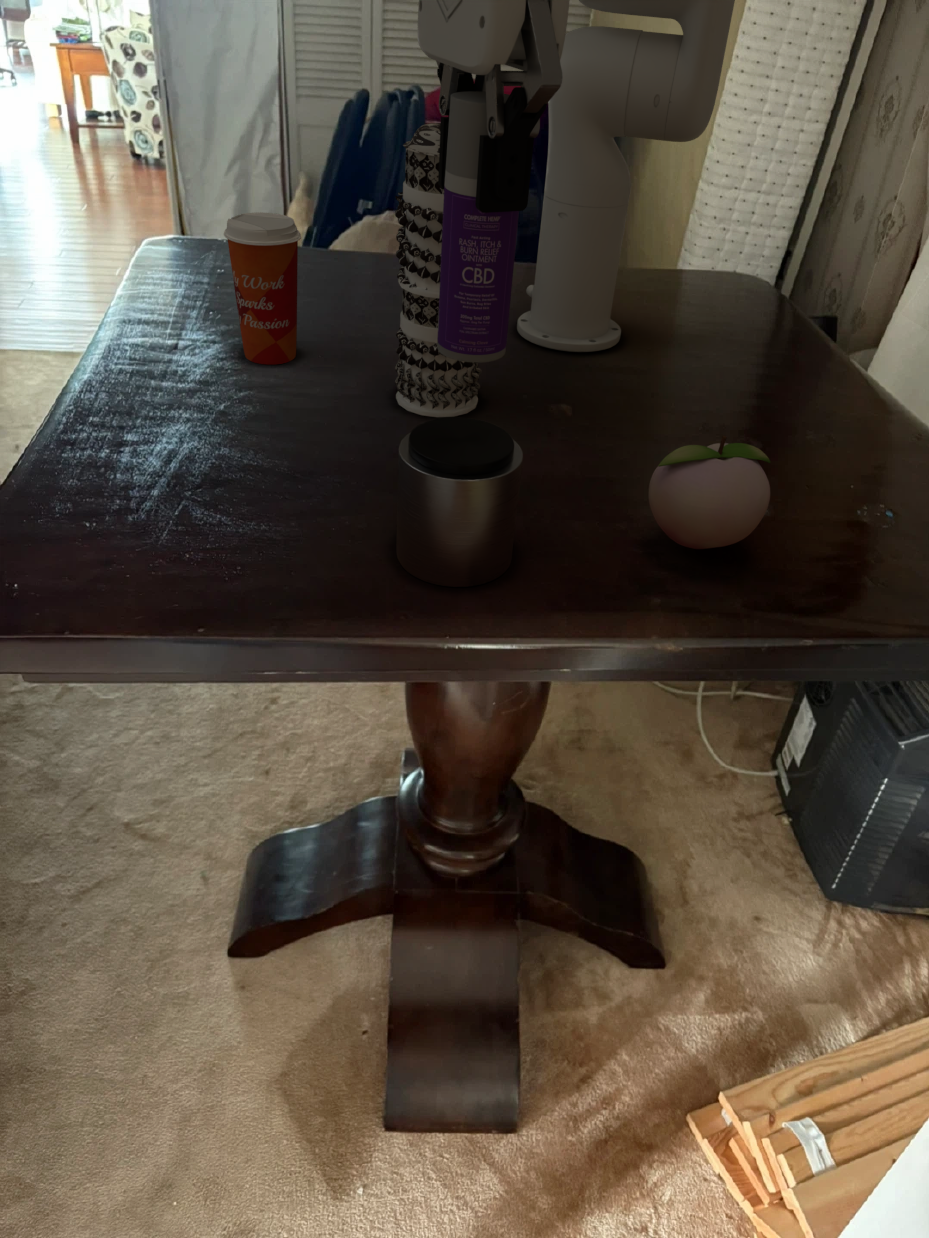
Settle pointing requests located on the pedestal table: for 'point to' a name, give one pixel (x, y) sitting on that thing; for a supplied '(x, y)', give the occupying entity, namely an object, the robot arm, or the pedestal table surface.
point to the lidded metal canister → (457, 501)
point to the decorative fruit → (710, 494)
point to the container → (472, 246)
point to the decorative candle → (426, 291)
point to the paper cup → (265, 284)
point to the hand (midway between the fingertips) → (481, 195)
